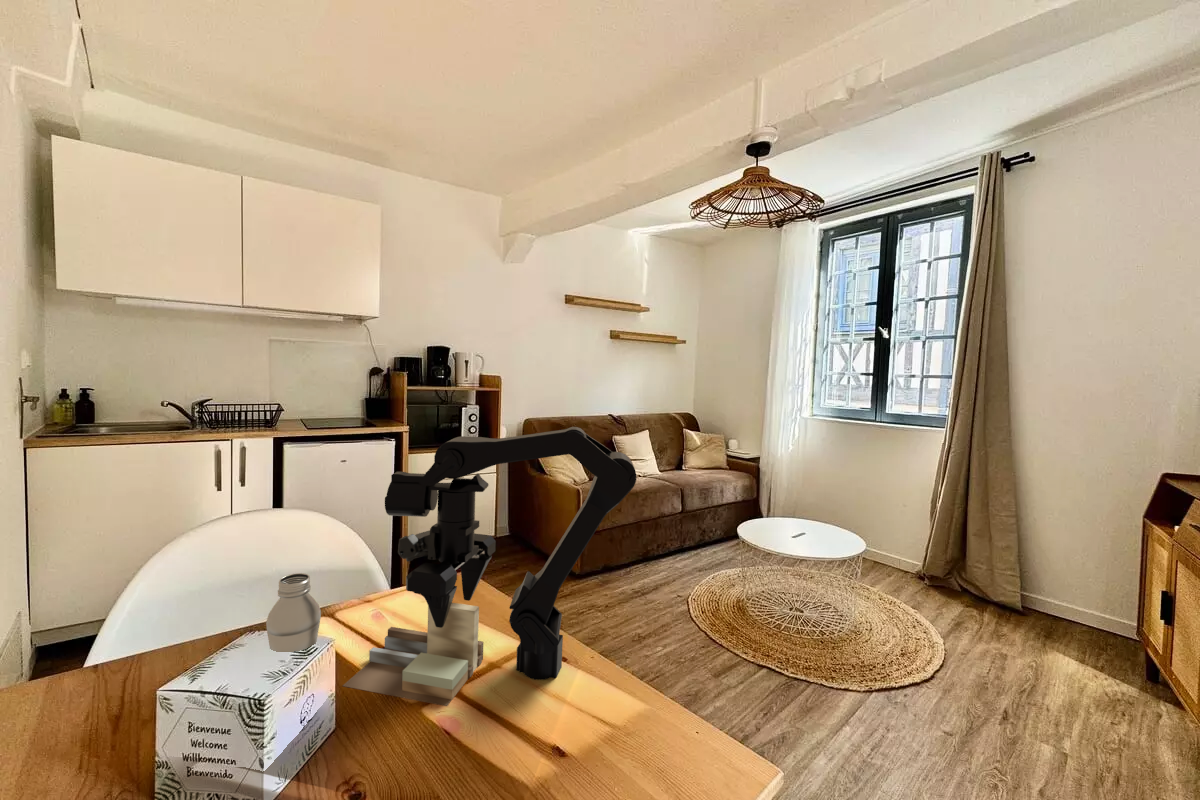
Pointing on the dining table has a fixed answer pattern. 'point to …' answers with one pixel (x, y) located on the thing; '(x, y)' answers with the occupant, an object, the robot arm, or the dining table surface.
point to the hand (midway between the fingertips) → (454, 612)
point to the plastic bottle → (293, 616)
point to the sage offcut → (435, 670)
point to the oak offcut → (434, 688)
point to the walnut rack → (398, 666)
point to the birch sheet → (455, 634)
